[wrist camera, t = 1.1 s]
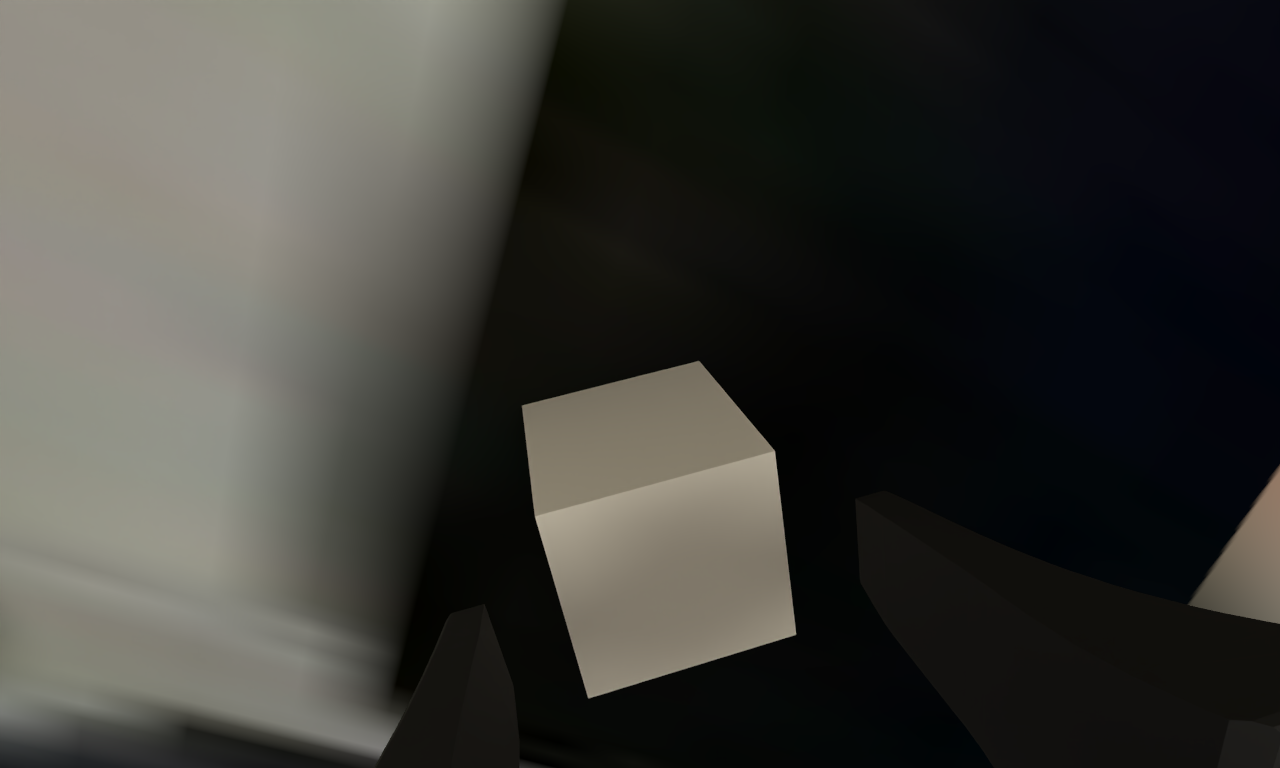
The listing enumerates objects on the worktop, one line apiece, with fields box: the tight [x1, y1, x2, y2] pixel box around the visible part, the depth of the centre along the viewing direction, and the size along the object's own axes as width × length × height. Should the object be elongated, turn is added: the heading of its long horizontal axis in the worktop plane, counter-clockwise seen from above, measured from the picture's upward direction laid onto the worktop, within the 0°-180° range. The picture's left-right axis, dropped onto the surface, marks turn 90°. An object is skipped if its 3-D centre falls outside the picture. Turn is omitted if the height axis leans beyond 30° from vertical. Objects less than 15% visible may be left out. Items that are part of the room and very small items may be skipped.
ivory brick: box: [522, 361, 796, 698], centre depth 15 cm, size 4×4×5 cm
